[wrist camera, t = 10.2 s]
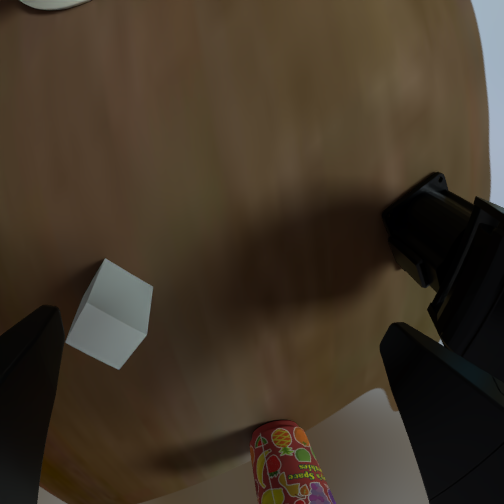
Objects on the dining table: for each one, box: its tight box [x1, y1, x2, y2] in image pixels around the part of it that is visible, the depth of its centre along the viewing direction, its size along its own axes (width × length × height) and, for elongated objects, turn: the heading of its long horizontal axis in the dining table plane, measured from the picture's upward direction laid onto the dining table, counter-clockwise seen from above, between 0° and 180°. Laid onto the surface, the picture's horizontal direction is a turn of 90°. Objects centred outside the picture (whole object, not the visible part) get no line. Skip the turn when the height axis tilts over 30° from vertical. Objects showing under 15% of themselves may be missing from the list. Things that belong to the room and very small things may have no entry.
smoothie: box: [249, 420, 336, 504], centre depth 25 cm, size 8×8×20 cm
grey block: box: [65, 258, 153, 370], centre depth 19 cm, size 4×4×5 cm
